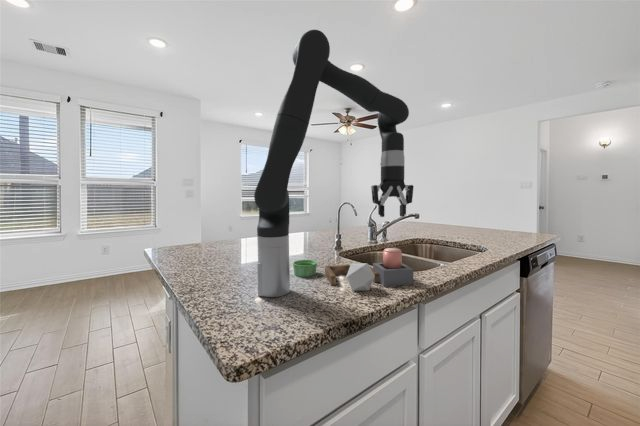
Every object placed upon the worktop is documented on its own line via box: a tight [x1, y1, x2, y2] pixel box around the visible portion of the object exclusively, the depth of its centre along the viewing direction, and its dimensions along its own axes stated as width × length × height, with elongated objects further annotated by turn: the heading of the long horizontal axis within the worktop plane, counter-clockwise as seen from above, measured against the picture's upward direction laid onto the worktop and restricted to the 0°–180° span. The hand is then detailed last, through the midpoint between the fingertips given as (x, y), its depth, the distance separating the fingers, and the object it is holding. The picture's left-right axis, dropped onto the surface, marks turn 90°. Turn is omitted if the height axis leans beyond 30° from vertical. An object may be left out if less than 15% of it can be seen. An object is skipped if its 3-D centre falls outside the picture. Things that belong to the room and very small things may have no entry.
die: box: [345, 262, 375, 292], centre depth 85 cm, size 8×9×10 cm
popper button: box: [382, 247, 403, 268], centre depth 93 cm, size 6×6×6 cm
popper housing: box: [372, 262, 414, 287], centre depth 93 cm, size 10×10×5 cm
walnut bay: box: [324, 264, 380, 286], centre depth 97 cm, size 16×14×3 cm
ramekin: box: [292, 259, 318, 278], centre depth 103 cm, size 9×9×4 cm
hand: (392, 216), depth 92 cm, fingers open, 6 cm apart
